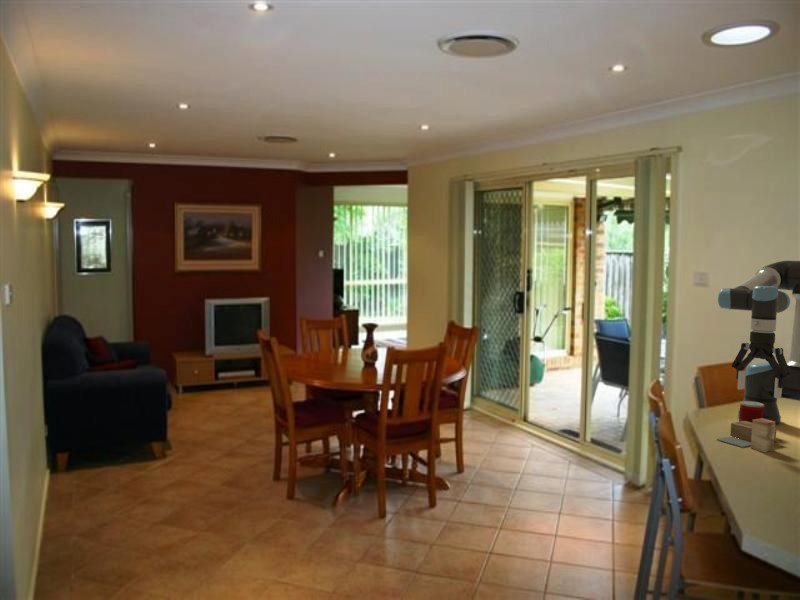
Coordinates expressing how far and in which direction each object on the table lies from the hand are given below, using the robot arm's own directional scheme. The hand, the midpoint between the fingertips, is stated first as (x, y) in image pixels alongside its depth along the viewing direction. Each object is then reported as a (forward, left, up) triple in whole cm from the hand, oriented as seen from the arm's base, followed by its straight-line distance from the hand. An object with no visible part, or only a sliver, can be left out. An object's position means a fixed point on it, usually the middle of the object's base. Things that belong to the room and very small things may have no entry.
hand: (758, 393), depth 231 cm
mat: (-1, -8, -19) cm, 21 cm away
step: (-10, -8, -19) cm, 23 cm away
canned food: (-19, -15, -20) cm, 31 cm away
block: (-2, +1, -19) cm, 20 cm away
